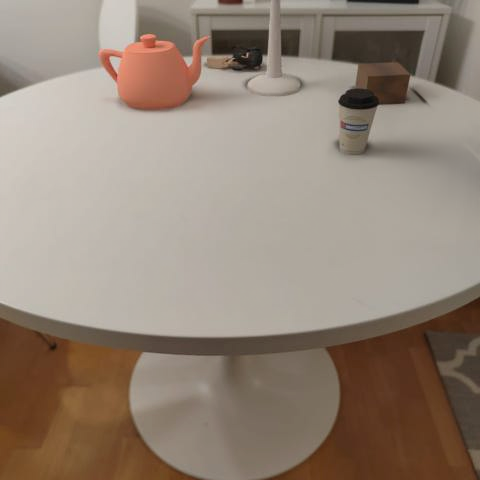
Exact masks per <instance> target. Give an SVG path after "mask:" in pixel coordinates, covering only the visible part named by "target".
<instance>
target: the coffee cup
mask: <svg viewBox="0 0 480 480" xmlns="http://www.w3.org/2000/svg"><path fill="white" fill-rule="evenodd" d="M337 102H338V120H339V121H338V123H339V124H338V126H339V127H338V128H339V129H338V133H339V135H338V136H339V137H338V138H339V139H338V140H339V142H338V144H339V145H338V146H339V151H340V152H341V153H343V154H347V155H360V154H363V153H364V152H365V150H366V146H367V144H368V139H369V137H370V133H371V129H372V126H373V122H374V119H375V115H376V113H377V108H378V106H380V104H379V99H378V97H376V96H375V95H374V92H373V91H371V90H368V89H360V88H355V87H354V88H350V89H347V90H346V91H345V92H344V94H342V95H340V97H339V98H338V101H337Z"/></svg>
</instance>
